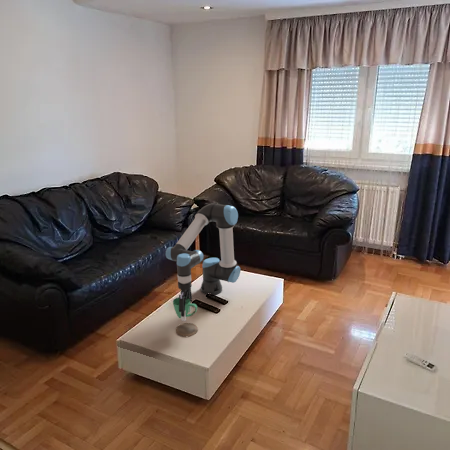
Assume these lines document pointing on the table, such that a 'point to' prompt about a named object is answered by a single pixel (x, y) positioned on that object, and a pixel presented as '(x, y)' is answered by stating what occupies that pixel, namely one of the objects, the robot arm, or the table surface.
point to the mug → (176, 307)
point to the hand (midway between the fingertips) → (186, 316)
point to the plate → (186, 329)
